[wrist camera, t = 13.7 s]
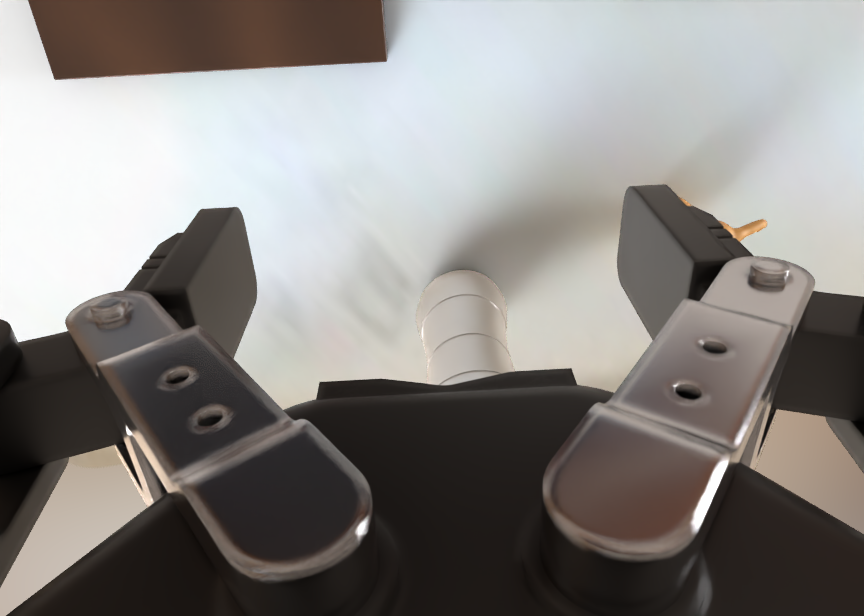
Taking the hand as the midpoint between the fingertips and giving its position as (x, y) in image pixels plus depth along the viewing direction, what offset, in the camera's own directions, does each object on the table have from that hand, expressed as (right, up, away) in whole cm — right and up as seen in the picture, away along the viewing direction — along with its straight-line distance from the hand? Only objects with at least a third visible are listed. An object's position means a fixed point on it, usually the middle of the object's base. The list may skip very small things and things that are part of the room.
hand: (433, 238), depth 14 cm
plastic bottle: (+2, -1, +36) cm, 36 cm away
